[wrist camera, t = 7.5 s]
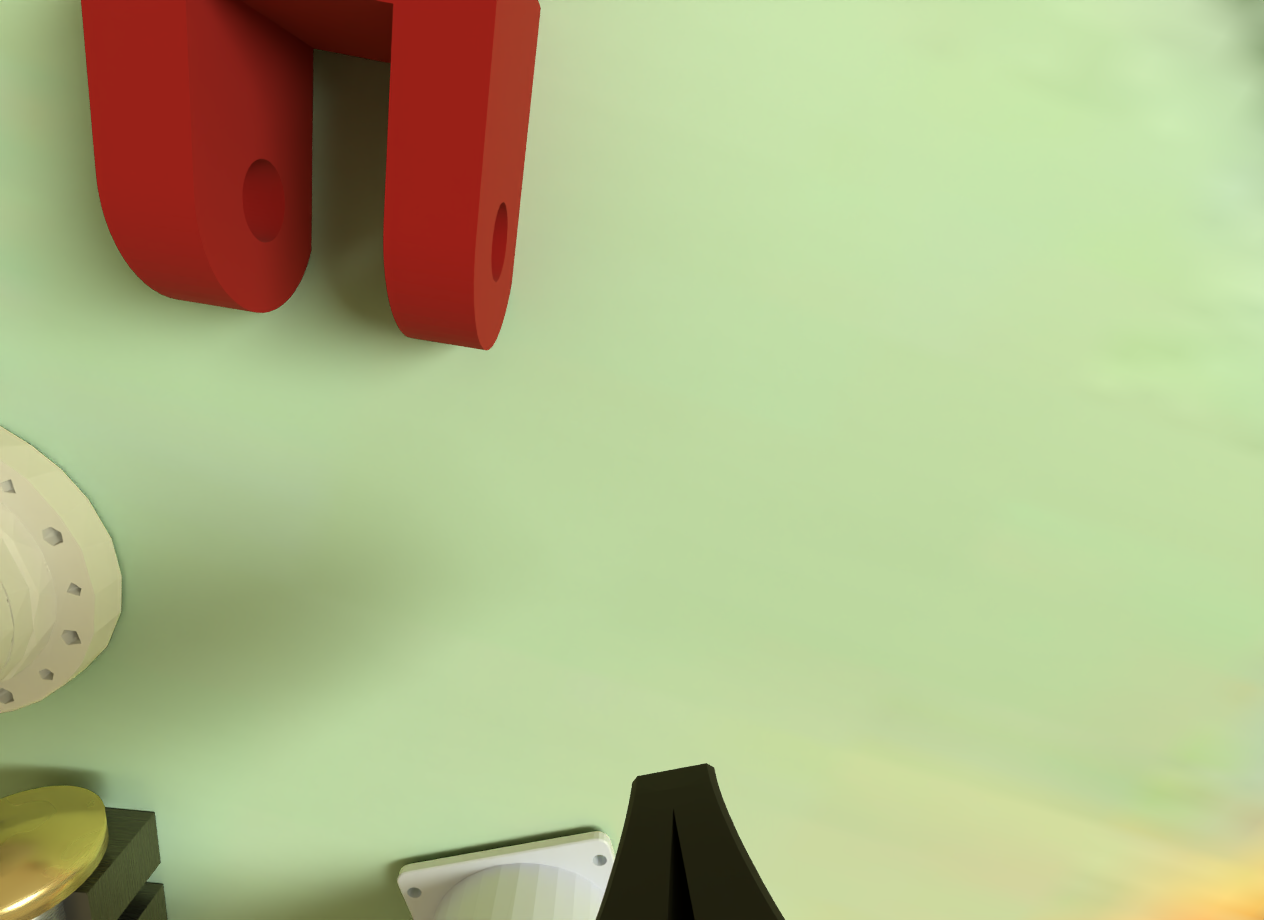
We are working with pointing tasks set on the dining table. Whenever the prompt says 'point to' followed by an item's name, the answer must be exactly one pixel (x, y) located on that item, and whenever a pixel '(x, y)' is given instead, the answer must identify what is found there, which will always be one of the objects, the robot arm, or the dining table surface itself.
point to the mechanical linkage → (282, 147)
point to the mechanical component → (49, 577)
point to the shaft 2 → (76, 858)
